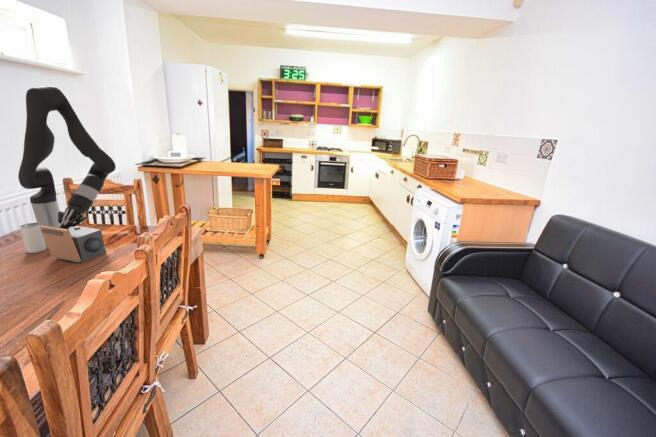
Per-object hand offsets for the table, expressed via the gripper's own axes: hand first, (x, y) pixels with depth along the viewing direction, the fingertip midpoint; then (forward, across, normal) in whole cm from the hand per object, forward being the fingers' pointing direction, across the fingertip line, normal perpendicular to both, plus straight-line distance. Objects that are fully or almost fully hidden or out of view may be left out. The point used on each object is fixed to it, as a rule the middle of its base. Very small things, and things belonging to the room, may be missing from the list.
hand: (60, 234), depth 119 cm
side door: (+8, 0, +8) cm, 11 cm away
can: (+6, -23, +11) cm, 26 cm away
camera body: (+4, +1, +13) cm, 14 cm away
